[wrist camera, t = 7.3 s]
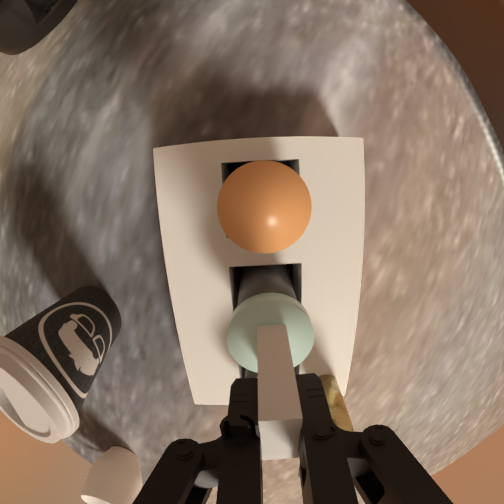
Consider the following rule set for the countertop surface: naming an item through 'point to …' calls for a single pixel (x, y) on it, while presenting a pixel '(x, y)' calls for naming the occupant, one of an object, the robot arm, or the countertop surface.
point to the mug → (113, 478)
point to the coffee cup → (56, 363)
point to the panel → (231, 255)
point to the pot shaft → (336, 402)
